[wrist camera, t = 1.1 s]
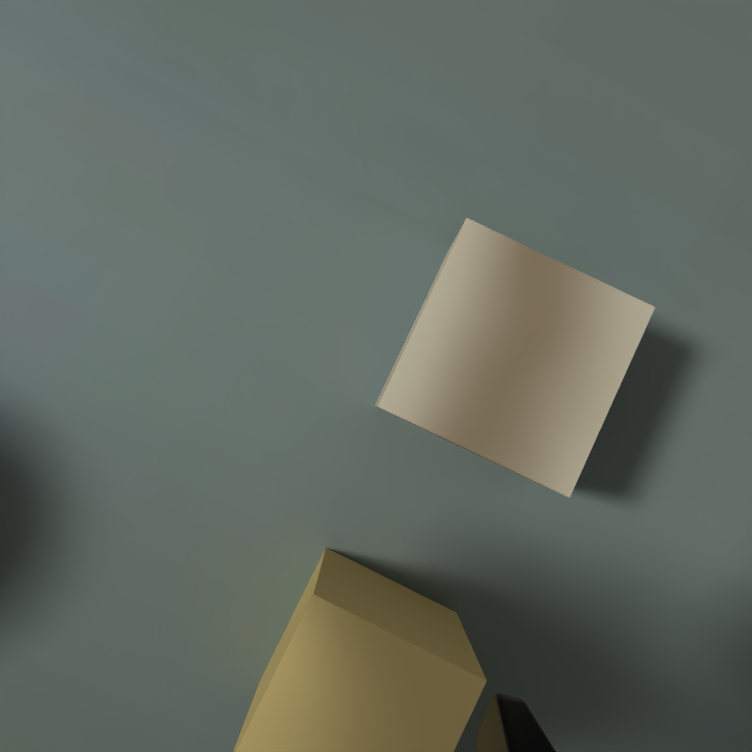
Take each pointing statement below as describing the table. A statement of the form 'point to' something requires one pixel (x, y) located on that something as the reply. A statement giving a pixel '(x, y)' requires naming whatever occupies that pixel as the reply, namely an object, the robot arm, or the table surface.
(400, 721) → the ochre block
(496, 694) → the robot arm
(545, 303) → the birch base block
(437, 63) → the table surface
